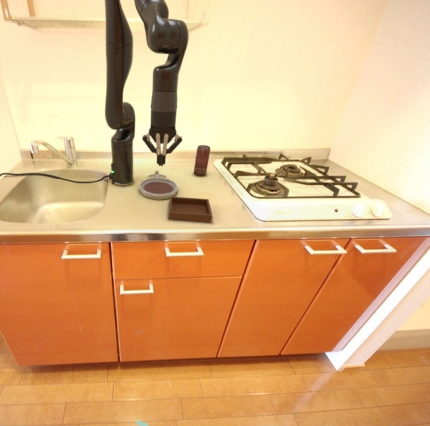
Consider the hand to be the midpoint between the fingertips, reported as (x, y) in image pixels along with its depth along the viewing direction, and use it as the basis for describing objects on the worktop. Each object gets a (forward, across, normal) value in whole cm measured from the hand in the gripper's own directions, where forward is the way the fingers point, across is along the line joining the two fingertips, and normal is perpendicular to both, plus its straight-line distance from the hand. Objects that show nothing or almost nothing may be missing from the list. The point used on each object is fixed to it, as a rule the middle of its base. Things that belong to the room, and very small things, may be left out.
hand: (160, 165), depth 75 cm
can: (+18, -18, -36) cm, 44 cm away
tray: (+18, -11, 0) cm, 21 cm away
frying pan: (+18, +2, -21) cm, 28 cm away
